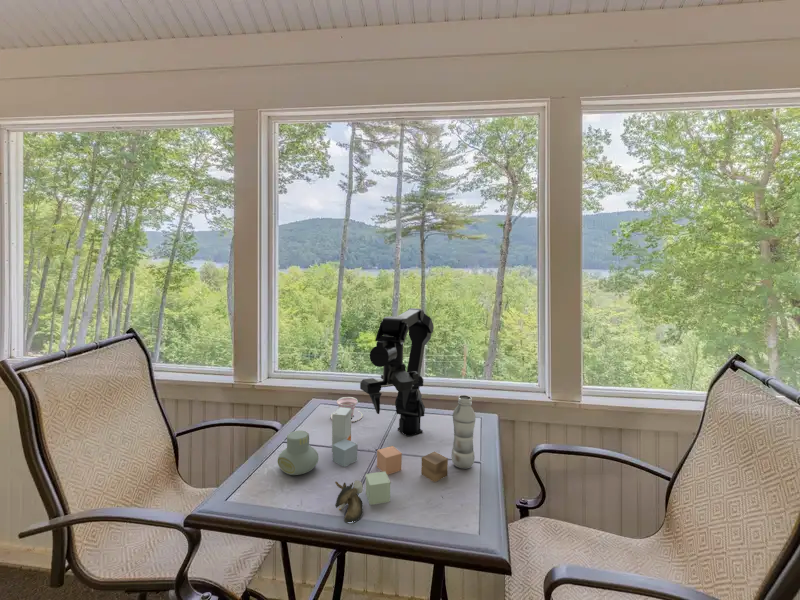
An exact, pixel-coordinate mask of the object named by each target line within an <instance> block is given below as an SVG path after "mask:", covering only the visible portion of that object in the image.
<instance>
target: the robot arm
mask: <svg viewBox="0 0 800 600" xmlns="http://www.w3.org/2000/svg"><path fill="white" fill-rule="evenodd" d="M382 318H383V319H382V320H381V322H380V324H379V328H378V330H377V333H376V337H375V341H376V346H374V347H372V349H371V350H370V351H369V360H370V362H371V363H372V365H374V366H375V367H377V368H381V367H382V370H383V371H382V374H381V375H380V379H381V380H376V379H375V378H374V377H371V378H363V379H361V381H360V382H359V383H360V384H359V385H360V386H359V389H360V390H362V391H363V392H365V393H366V394H368V395H369V398H370V400H371V402H372V405H373V407H374V410H375V412H376V414H377V415H380V413H381V402H380V401H381V400H380V399H381V396H382V392H381V390H382V388H389V387H394V388H395V390H396V391H397V396H396V398H395V402H394V404H395V411H396V413H395V414H397V415H400V417H399V418H398V419H399V420H398V427H397V431H399V432H400V433H401V434H403V436H406V437H410V436H414V435H418V434H423V432H424V431H423V430H422V429H421V418H422V417H424V416H425V411H426V406H425V404H424V402H423V400H422V393H421V391H420V390H421V389H420V387H423V386H424V378H423V377H422V375H421V371H422V367H423V366H422V365H423V359H424V355H425V354H424V353H425V348H426V347H425V346H426V345H427V343H428V342H429V341H430V340H431V338H432V334H433V332H434V323H433V320H432V318H431V317H430V316H428V315H427V314H426V313H425V312H424V310H423V309H422V308H415V307H414V308H412V307H409V308H408V309H407V310H406V311H404V312H402V313H401V314H398V315H395V316H394V315H393V316H390V315H389V316H385V317H382ZM407 335H408V336H409V338H410V342H411V345H410V351H409V357H408V363H407V369H406V363H404V343H405V341H406V339H407V338H406V337H407Z"/></svg>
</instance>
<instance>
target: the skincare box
mask: <svg viewBox="0 0 800 600" xmlns="http://www.w3.org/2000/svg"><path fill="white" fill-rule="evenodd" d="M332 413H333V414H332ZM332 413H331V414H332V419H331V422H332V423H331V429H332V430H331V453H333V444H335V443H338V442H340V441H342V440H344V439H347V440H349V441H352V422H351V418H352V417H351V408H342V407H339V406H338V408H337V409H336V410H334V412H332Z"/></svg>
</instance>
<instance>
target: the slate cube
mask: <svg viewBox="0 0 800 600" xmlns="http://www.w3.org/2000/svg"><path fill="white" fill-rule="evenodd" d="M356 461H358V443H356V442H354V441H352V440H351V441H349V440H347V439H344V440H342V441H340V442H338V443H335V444H333V452H332V462H334V463H336V464H337V465H340V466H341V467H345V468H346V467H347V466H350V465H351V464H353V463H355V462H356Z"/></svg>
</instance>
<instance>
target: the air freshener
mask: <svg viewBox="0 0 800 600" xmlns="http://www.w3.org/2000/svg"><path fill="white" fill-rule="evenodd" d="M278 455H279V456H278V457H277V464H278V467H279V469H281V471H282V472H283V473H285V474H287V475H290V476H299V475H303V474H307V473H309V472H310V471H312V470H313V469H314V468H316V467H317V464H318V463H319V459H320V458H319V453H318V452H317V450H316V449H315V448H314V447H313V446H311V445H310V433H309V432H308V431H306V430H295V431H294V430H293V431H291V432H289V433H288V434H287V436H286V448H284V449H283V450H282V451H281V452H280V454H278Z"/></svg>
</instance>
